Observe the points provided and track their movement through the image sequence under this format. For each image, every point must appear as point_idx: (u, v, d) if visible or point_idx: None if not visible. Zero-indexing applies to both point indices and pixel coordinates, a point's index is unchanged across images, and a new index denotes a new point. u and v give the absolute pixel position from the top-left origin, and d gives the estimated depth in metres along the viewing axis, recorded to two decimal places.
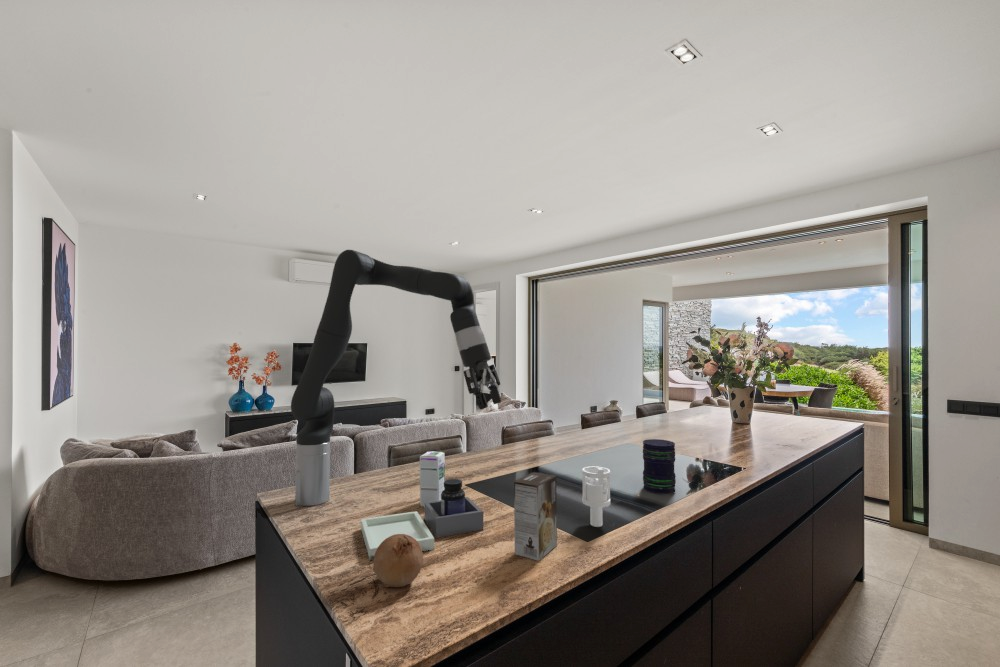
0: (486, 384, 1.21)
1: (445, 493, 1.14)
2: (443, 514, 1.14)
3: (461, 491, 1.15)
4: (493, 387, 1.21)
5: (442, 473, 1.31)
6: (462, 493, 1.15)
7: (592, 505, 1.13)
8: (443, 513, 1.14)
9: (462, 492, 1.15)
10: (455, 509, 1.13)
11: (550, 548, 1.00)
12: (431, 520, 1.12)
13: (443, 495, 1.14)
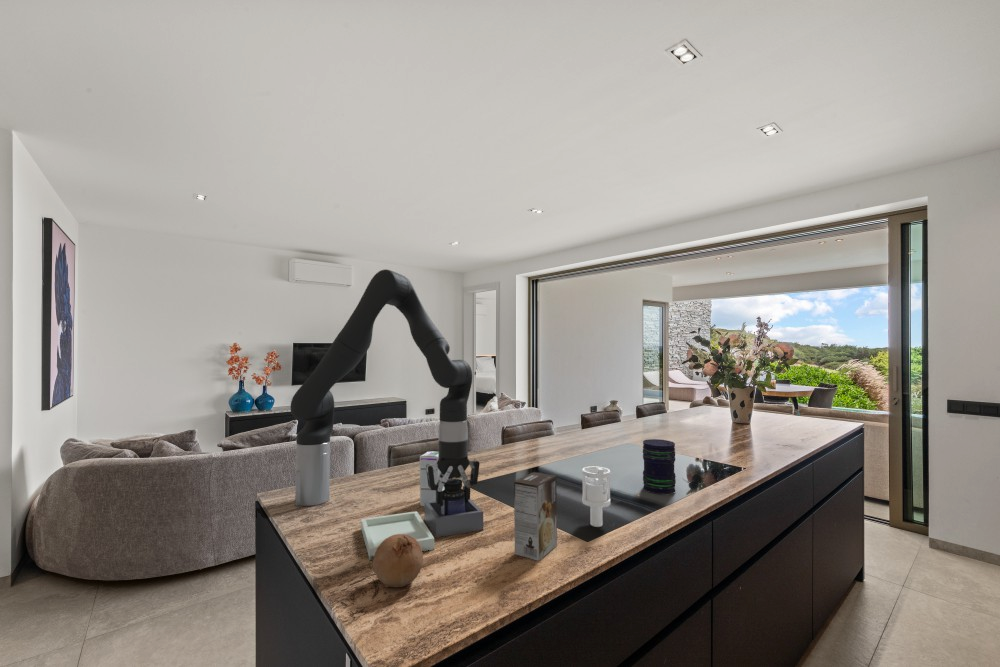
0: None
1: (445, 493, 1.14)
2: (443, 514, 1.14)
3: (461, 491, 1.15)
4: (465, 485, 1.17)
5: None
6: (462, 493, 1.15)
7: (592, 505, 1.13)
8: (443, 513, 1.14)
9: (462, 492, 1.15)
10: (455, 509, 1.13)
11: (550, 548, 1.00)
12: (431, 520, 1.12)
13: (443, 495, 1.14)
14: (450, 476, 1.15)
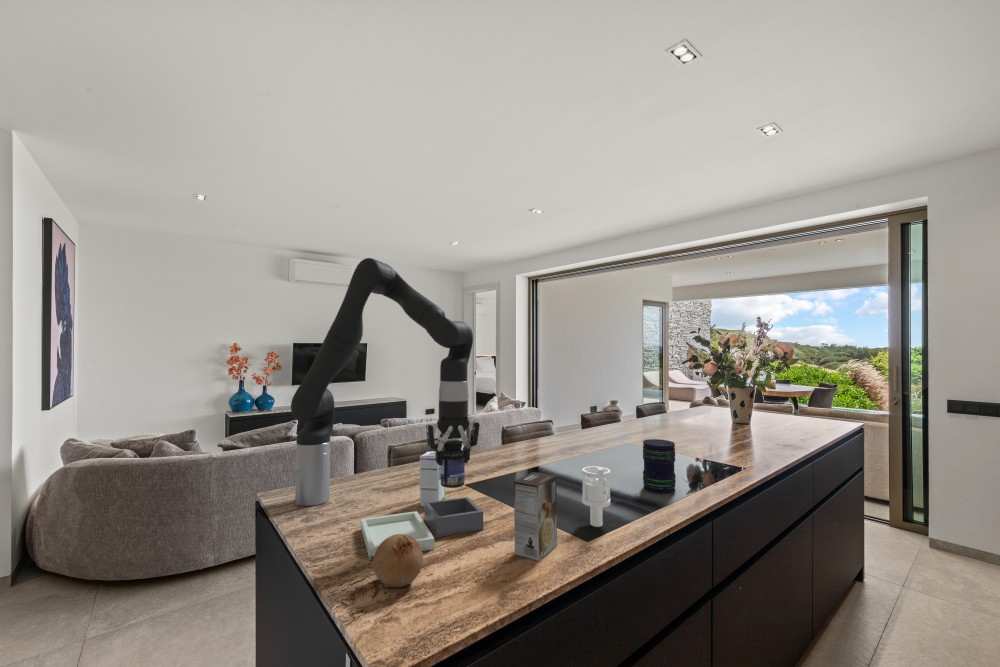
0: (460, 439, 1.18)
1: (444, 453, 1.14)
2: (443, 473, 1.14)
3: (461, 451, 1.15)
4: (465, 446, 1.17)
5: None
6: (462, 453, 1.15)
7: (592, 505, 1.13)
8: (443, 472, 1.14)
9: (462, 452, 1.15)
10: (454, 468, 1.13)
11: (550, 548, 1.00)
12: (431, 520, 1.12)
13: (443, 455, 1.14)
14: (450, 436, 1.15)
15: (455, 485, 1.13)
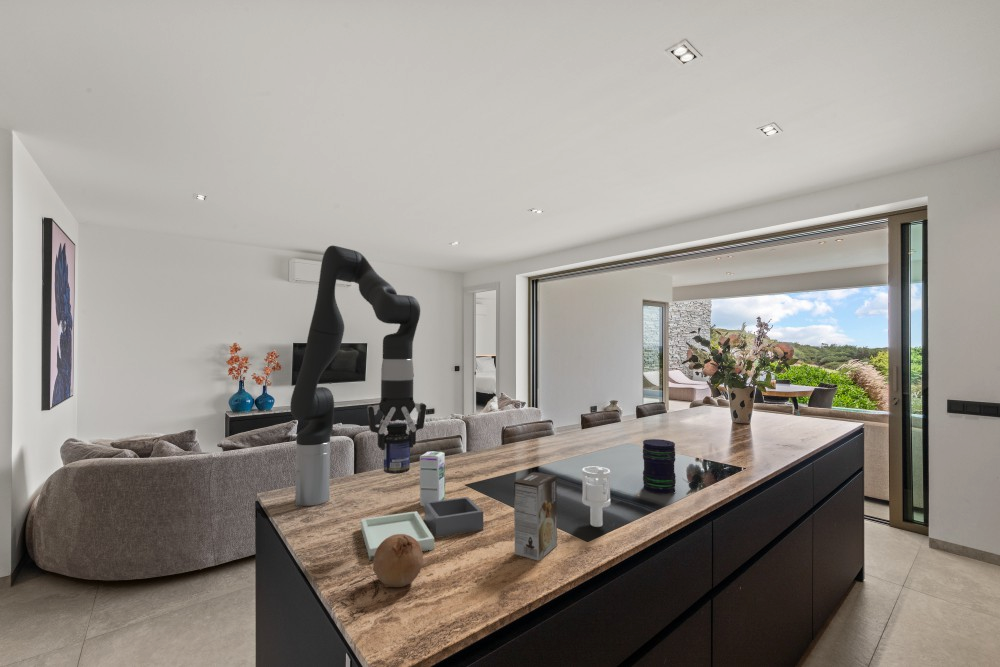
0: (406, 421, 1.10)
1: (387, 436, 1.06)
2: (385, 458, 1.06)
3: (405, 435, 1.07)
4: (410, 429, 1.09)
5: (442, 473, 1.31)
6: (406, 437, 1.07)
7: (592, 505, 1.13)
8: (385, 457, 1.06)
9: (406, 436, 1.07)
10: (397, 453, 1.05)
11: (550, 548, 1.00)
12: (431, 520, 1.12)
13: (385, 438, 1.06)
14: (393, 418, 1.07)
15: (398, 471, 1.05)
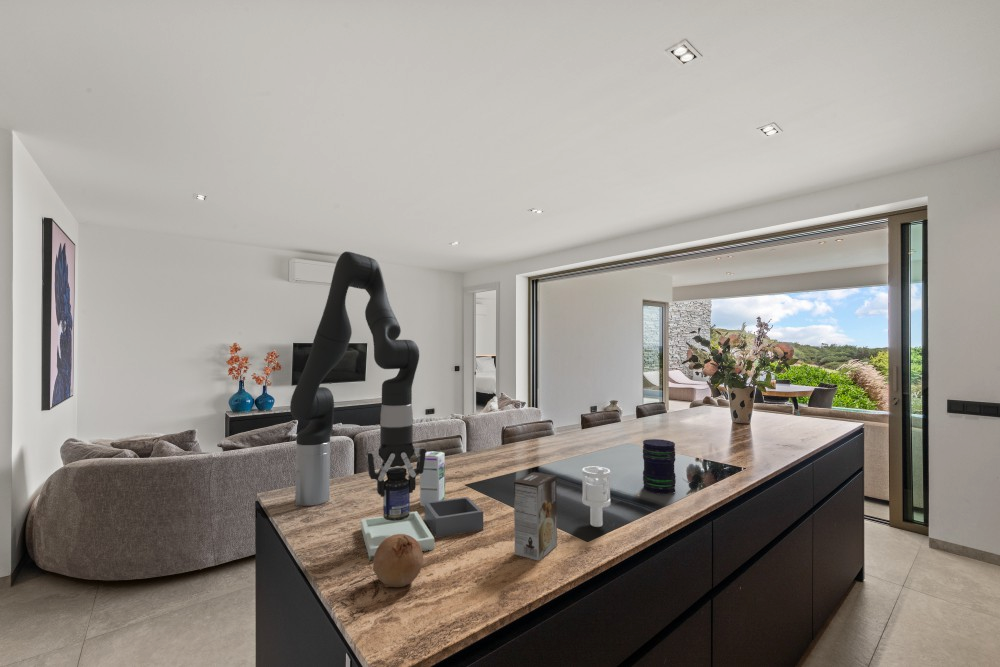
0: (405, 466, 1.09)
1: (386, 482, 1.06)
2: (385, 505, 1.05)
3: (405, 480, 1.07)
4: (410, 474, 1.09)
5: (442, 473, 1.31)
6: (406, 483, 1.06)
7: (592, 505, 1.13)
8: (385, 504, 1.05)
9: (406, 481, 1.07)
10: (397, 500, 1.05)
11: (550, 548, 1.00)
12: (431, 520, 1.12)
13: (385, 485, 1.06)
14: (392, 464, 1.06)
15: (398, 518, 1.04)
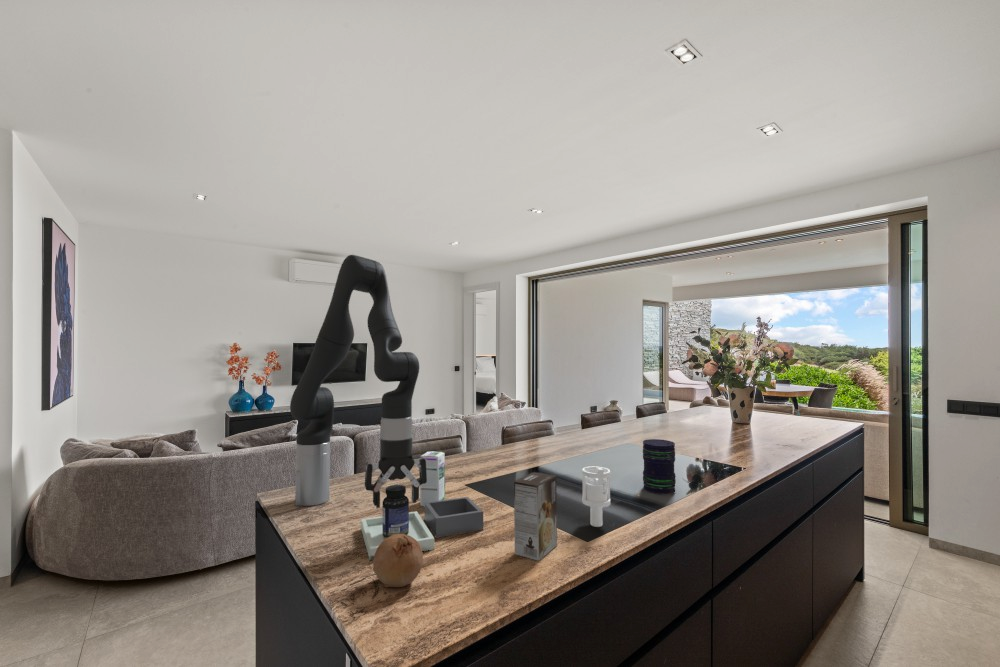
0: None
1: (386, 500, 1.06)
2: (384, 523, 1.05)
3: (404, 498, 1.07)
4: None
5: (442, 473, 1.31)
6: (405, 500, 1.06)
7: (592, 505, 1.13)
8: (384, 522, 1.05)
9: (405, 499, 1.07)
10: (396, 518, 1.04)
11: (550, 548, 1.00)
12: (431, 520, 1.12)
13: (384, 503, 1.05)
14: (392, 477, 1.06)
15: None
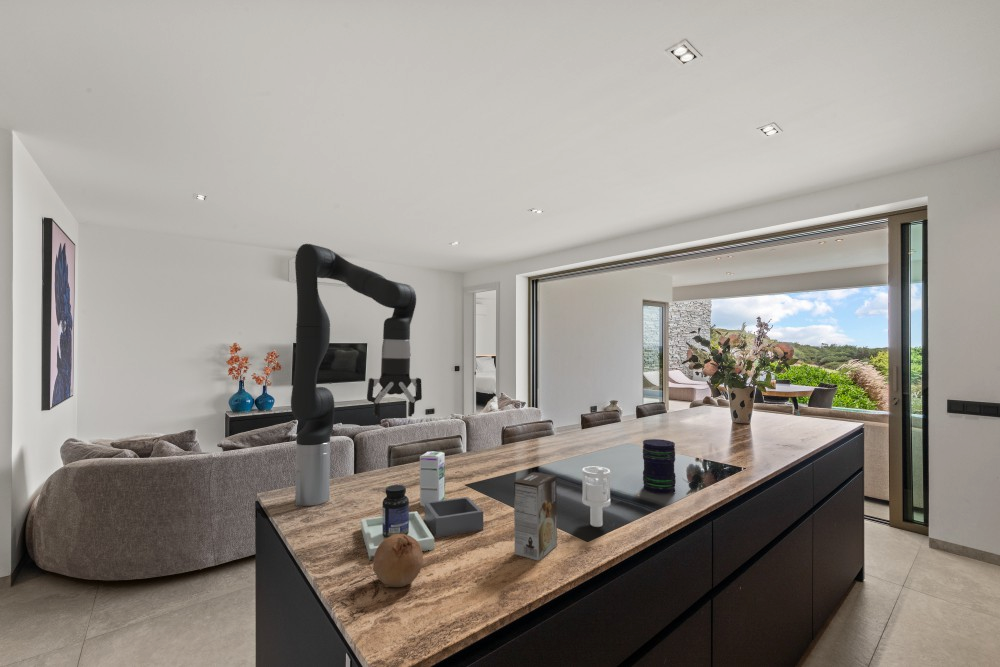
0: None
1: (386, 500, 1.06)
2: (384, 523, 1.05)
3: (404, 498, 1.07)
4: (410, 400, 1.23)
5: (442, 473, 1.31)
6: (405, 500, 1.06)
7: (592, 505, 1.13)
8: (384, 522, 1.05)
9: (405, 499, 1.07)
10: (396, 518, 1.04)
11: (550, 548, 1.00)
12: (431, 520, 1.12)
13: (384, 503, 1.05)
14: (391, 392, 1.21)
15: None
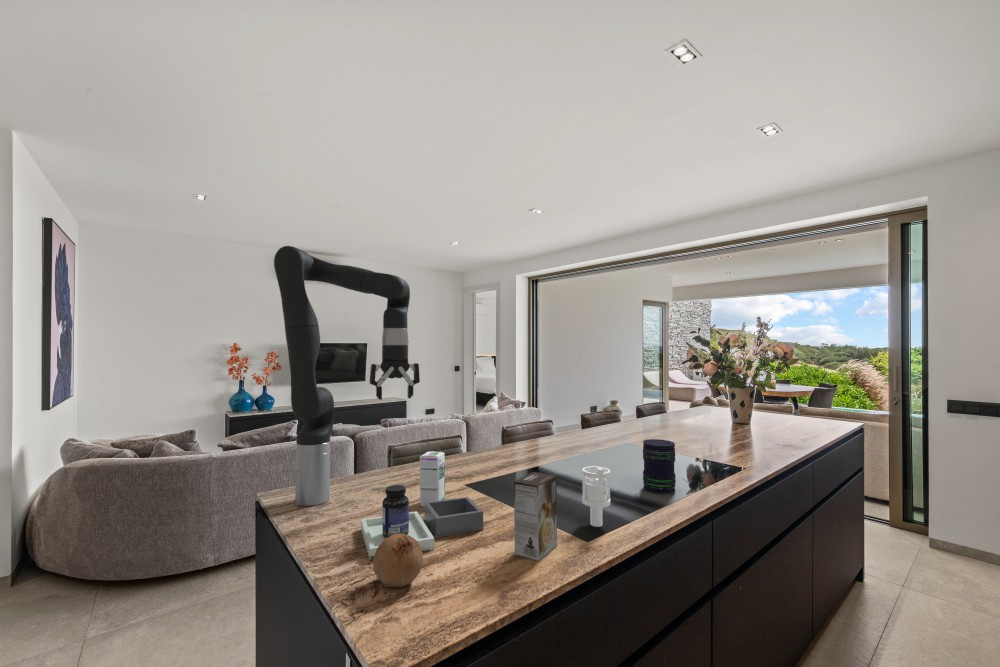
0: None
1: (386, 500, 1.06)
2: (384, 523, 1.05)
3: (404, 498, 1.07)
4: (409, 383, 1.35)
5: (442, 473, 1.31)
6: (405, 500, 1.06)
7: (592, 505, 1.13)
8: (384, 522, 1.05)
9: (405, 499, 1.07)
10: (396, 518, 1.04)
11: (550, 548, 1.00)
12: (431, 520, 1.12)
13: (384, 503, 1.05)
14: (392, 376, 1.32)
15: None
